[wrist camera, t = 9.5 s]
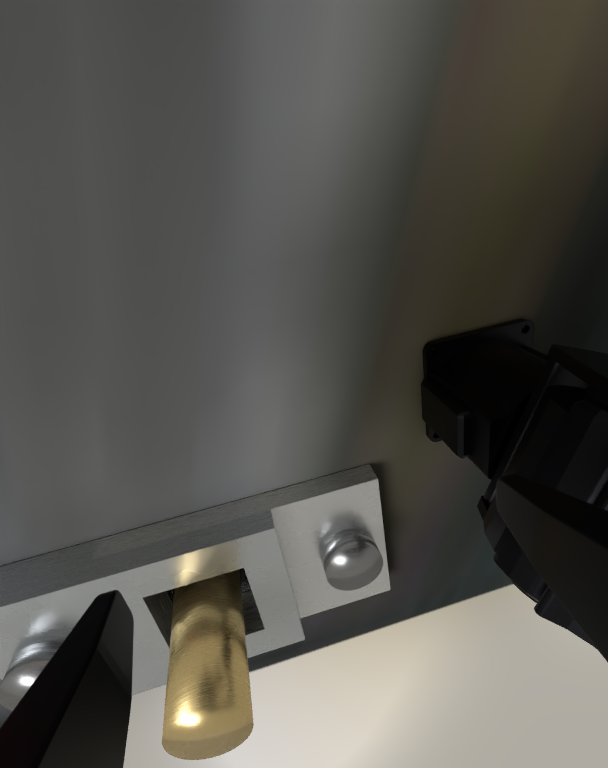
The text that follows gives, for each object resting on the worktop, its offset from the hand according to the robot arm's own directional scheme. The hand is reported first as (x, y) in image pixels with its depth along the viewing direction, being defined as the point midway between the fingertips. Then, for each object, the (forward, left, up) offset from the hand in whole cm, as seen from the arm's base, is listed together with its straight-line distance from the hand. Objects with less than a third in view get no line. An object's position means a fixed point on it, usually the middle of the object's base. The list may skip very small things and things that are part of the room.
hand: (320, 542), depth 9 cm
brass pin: (+6, +14, -13) cm, 20 cm away
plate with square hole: (+6, +14, -13) cm, 20 cm away
